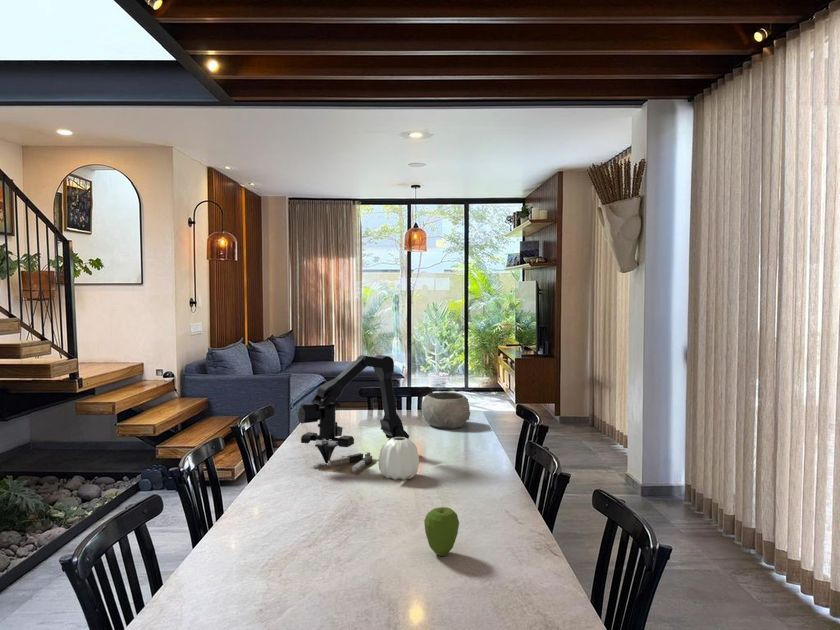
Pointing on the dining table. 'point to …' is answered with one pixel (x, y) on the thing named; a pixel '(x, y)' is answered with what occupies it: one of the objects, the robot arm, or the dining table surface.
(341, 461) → the bar
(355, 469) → the tongs fixed
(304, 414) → the robot arm
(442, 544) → the apple
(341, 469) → the board
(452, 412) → the bowl
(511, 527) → the dining table surface
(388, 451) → the vase
